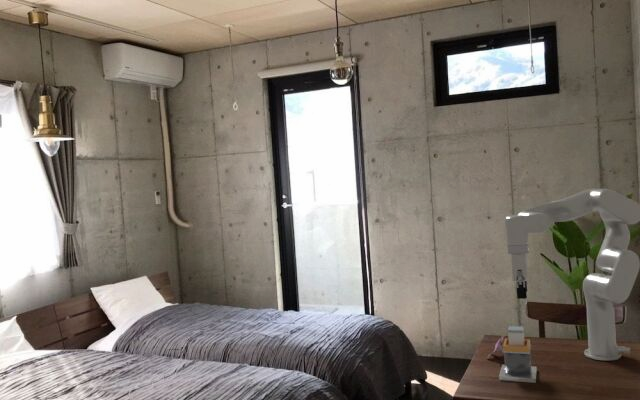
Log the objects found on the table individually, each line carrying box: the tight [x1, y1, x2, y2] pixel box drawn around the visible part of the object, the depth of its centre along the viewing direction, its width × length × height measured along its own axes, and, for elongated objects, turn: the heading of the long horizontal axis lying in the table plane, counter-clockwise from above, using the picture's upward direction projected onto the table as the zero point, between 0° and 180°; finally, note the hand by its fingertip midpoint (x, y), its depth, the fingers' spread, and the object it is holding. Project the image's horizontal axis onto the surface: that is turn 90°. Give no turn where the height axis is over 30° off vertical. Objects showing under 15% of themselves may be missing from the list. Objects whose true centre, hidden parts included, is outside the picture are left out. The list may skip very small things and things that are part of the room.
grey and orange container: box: [498, 338, 538, 384], centre depth 202 cm, size 12×12×12 cm
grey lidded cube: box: [507, 325, 525, 346], centre depth 202 cm, size 5×5×7 cm
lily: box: [487, 334, 506, 358], centre depth 222 cm, size 12×12×10 cm
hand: (522, 295), depth 207 cm, fingers open, 9 cm apart
